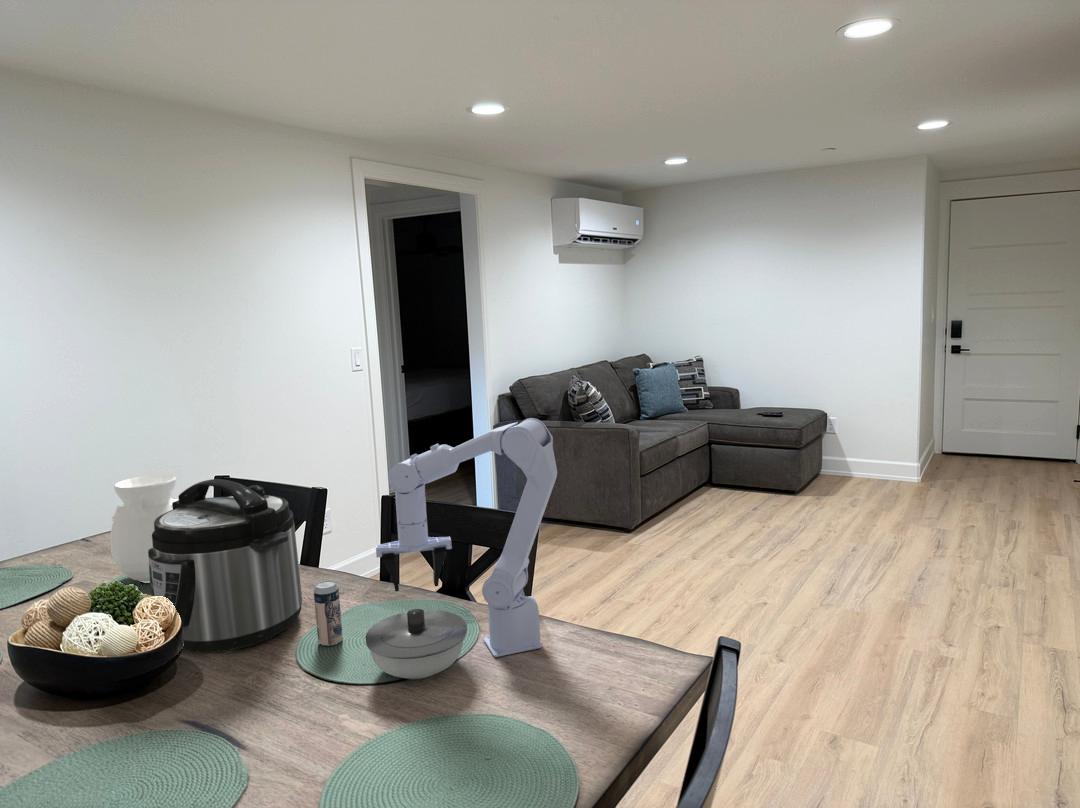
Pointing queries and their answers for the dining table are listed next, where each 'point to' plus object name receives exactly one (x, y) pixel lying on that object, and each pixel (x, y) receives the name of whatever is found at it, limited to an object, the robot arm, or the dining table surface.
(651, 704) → the dining table surface
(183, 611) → the pressure cooker
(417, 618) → the lid
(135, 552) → the pitcher
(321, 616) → the beer can
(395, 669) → the cereal bowl
